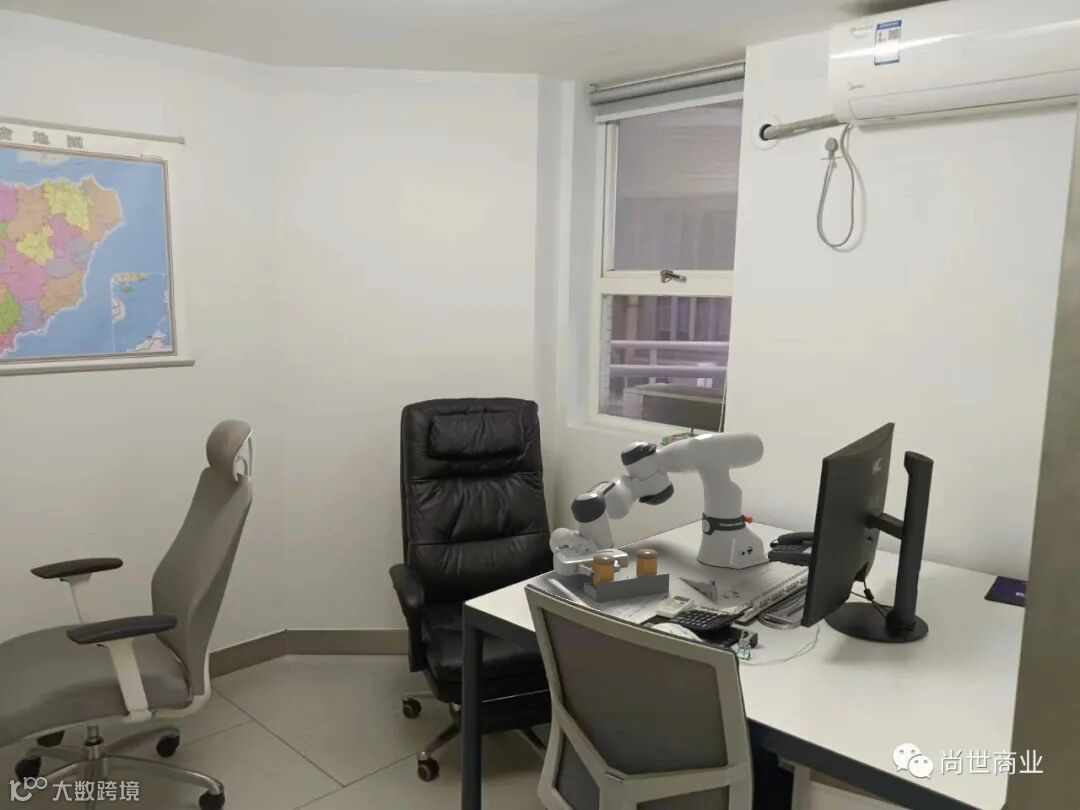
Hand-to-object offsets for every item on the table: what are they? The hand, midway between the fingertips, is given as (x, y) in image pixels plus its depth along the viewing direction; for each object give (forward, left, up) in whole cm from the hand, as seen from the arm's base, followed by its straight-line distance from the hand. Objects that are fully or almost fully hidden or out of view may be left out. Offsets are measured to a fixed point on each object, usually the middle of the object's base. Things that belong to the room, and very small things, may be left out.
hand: (604, 571), depth 210 cm
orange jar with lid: (-13, -1, -6) cm, 15 cm away
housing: (-7, -1, -8) cm, 10 cm away
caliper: (-25, +4, -8) cm, 27 cm away
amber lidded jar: (0, -1, -6) cm, 6 cm away
